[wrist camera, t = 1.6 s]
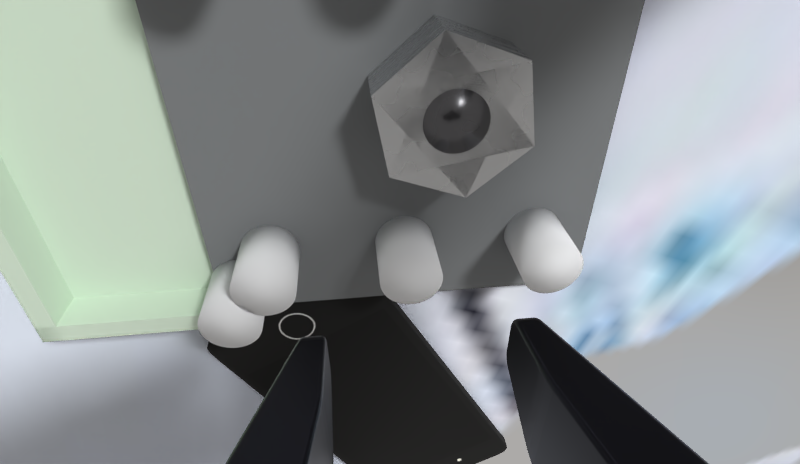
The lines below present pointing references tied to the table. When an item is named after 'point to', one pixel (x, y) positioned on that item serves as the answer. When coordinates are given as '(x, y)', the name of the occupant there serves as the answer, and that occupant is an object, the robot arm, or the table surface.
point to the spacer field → (274, 160)
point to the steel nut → (453, 107)
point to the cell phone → (375, 383)
